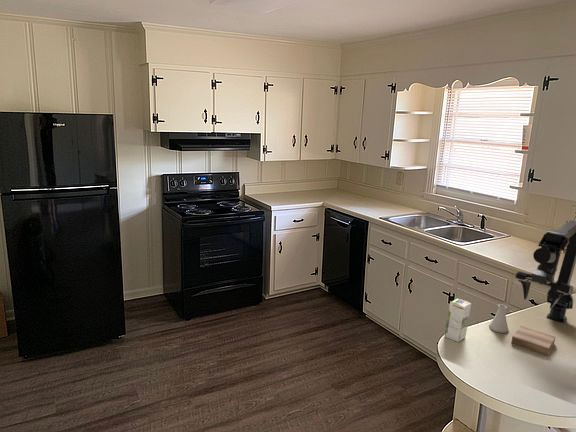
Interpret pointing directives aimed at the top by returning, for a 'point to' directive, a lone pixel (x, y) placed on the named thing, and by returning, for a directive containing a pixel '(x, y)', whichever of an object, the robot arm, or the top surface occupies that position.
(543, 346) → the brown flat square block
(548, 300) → the robot arm
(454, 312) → the syrup box
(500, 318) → the flask
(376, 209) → the top surface
